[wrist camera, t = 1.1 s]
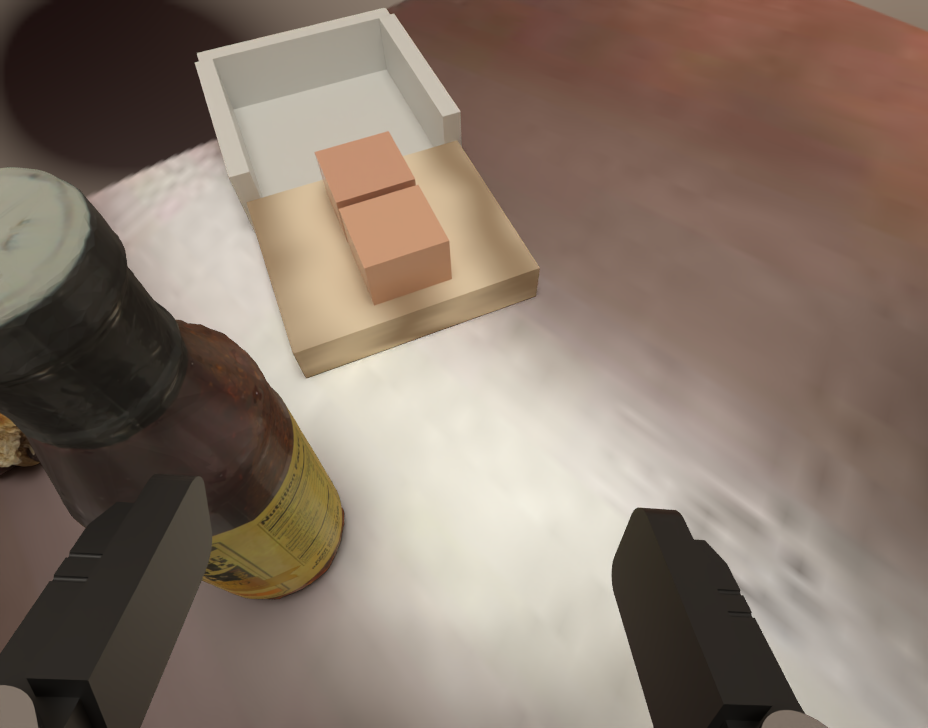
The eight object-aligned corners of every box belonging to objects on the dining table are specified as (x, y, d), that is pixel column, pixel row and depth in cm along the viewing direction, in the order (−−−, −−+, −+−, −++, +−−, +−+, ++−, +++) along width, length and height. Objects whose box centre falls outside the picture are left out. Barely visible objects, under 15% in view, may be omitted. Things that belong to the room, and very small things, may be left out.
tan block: (423, 224, 33) (418, 184, 31) (452, 279, 31) (449, 240, 28) (349, 248, 32) (338, 208, 30) (374, 305, 30) (364, 268, 28)
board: (458, 171, 39) (457, 140, 37) (536, 295, 33) (539, 267, 31) (260, 231, 37) (246, 202, 35) (306, 378, 31) (293, 353, 29)
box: (396, 65, 46) (389, 6, 42) (462, 169, 39) (460, 111, 35) (217, 112, 43) (192, 54, 40) (255, 232, 37) (228, 177, 33)
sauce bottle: (189, 549, 26) (-345, 263, 9) (285, 448, 29) (4, 76, 12) (288, 641, 24) (-168, 488, 7) (383, 523, 27) (212, 201, 10)
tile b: (395, 172, 36) (388, 130, 33) (420, 219, 33) (415, 178, 31) (326, 192, 35) (314, 152, 32) (347, 242, 33) (335, 202, 30)
